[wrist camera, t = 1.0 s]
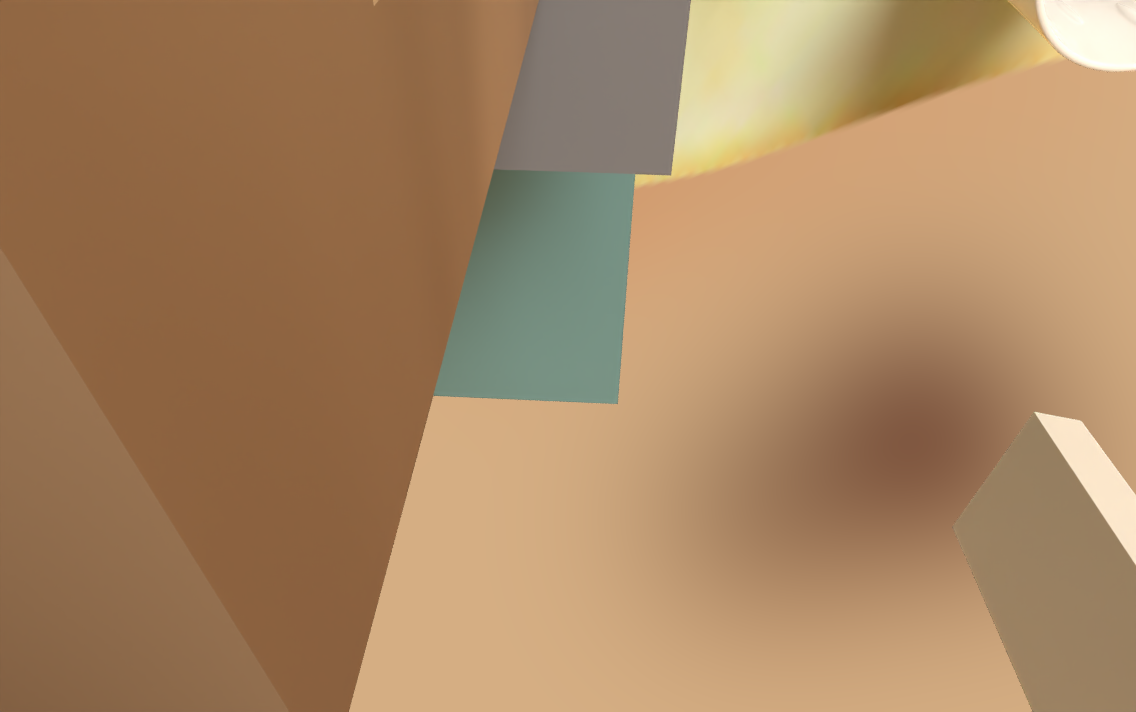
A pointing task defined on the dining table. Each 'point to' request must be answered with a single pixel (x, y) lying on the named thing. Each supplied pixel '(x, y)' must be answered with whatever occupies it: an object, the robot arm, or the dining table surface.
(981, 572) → the robot arm
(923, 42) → the dining table surface
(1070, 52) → the white cup
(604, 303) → the stand
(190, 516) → the wooden bar
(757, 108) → the dining table surface
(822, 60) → the dining table surface
